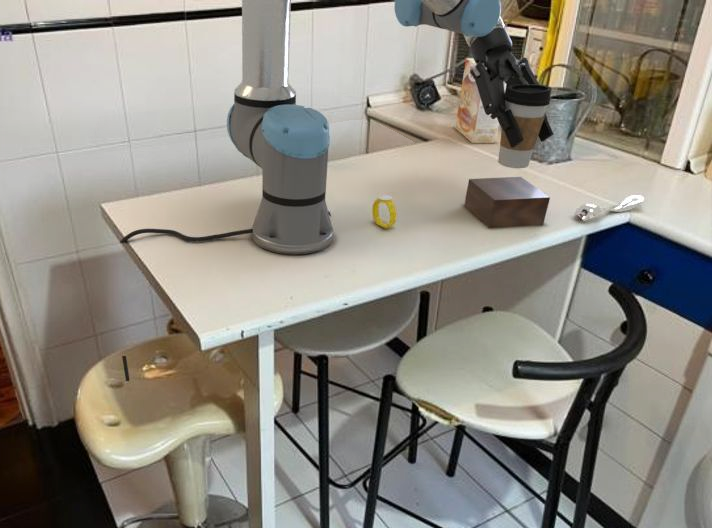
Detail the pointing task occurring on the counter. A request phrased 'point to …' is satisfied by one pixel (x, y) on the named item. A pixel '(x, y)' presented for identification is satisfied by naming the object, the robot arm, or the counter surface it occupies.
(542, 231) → the counter surface
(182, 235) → the robot arm
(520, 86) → the coffee cup
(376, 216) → the watch
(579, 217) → the silver scoop
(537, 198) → the walnut block
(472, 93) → the coffeecake box
